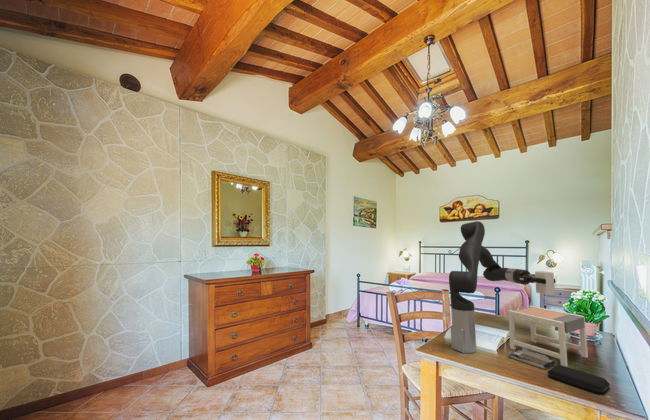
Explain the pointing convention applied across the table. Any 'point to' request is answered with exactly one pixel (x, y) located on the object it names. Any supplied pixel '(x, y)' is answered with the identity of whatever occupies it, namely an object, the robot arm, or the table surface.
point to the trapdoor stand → (534, 336)
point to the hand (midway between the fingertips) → (550, 281)
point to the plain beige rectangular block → (549, 285)
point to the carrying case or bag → (579, 379)
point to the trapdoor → (557, 318)
